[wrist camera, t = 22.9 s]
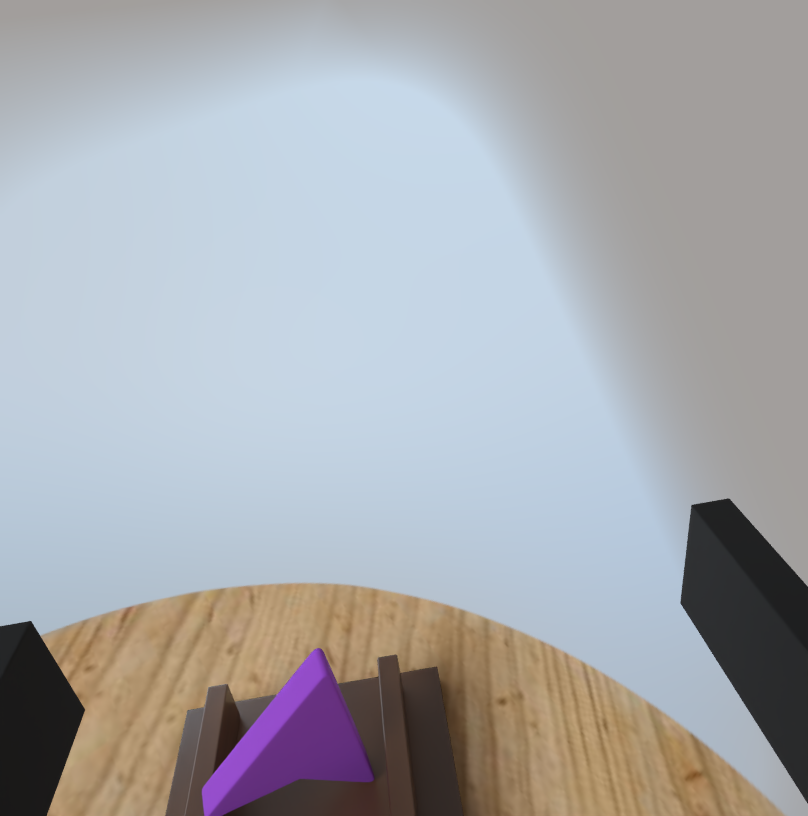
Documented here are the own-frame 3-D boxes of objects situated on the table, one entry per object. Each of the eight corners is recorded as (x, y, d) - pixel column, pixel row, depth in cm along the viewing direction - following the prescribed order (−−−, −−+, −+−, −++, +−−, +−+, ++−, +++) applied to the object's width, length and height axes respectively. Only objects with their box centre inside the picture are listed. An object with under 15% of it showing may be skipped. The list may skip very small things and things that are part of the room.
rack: (438, 678, 42) (431, 633, 40) (484, 938, 29) (478, 893, 27) (192, 721, 41) (172, 678, 39) (136, 1003, 29) (103, 963, 27)
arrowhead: (282, 847, 35) (150, 803, 29) (276, 817, 37) (148, 769, 30) (429, 741, 35) (327, 674, 29) (418, 715, 36) (318, 645, 30)
